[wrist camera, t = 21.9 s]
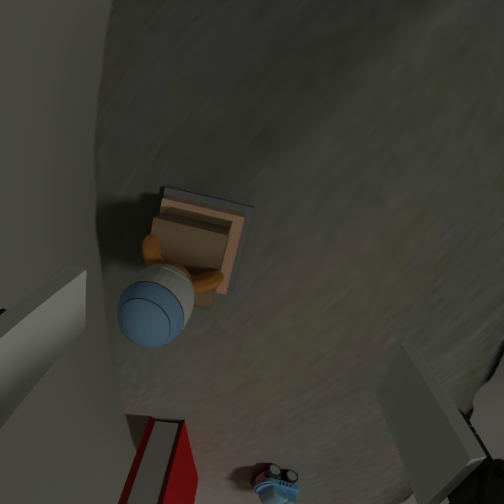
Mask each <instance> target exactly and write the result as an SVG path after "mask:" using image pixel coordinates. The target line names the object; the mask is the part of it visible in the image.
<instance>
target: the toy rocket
mask: <svg viewBox="0 0 504 504" xmlns="http://www.w3.org/2000/svg"><path fill="white" fill-rule="evenodd" d="M142 254H143V258H144V261H145V264H146V267H147V268H145V269H143V270H142V271H140V272H139V273H138V274H137V275H136V276H135V277H133V278H132V279H131V280H130V282H129V283H128V284H127V286H126V287H125V289H124V290H123V292H122V294H121V297H120V300H119V303H118V311H117V315H118V322H119V325H120V328H121V330H122V332H123V334H124V335H125V336H126V337H127V338H128V339H129V340H130V341H131V342H133V343H134V344H136V345H138V346H141V347H144V348H155V347H159V346H162V345H165V344H167V343H169V342H170V341H172V340H173V339H174V338H175V337H177V336H178V334H179V333H180V332H181V331H182V330H183V328H184V326H185V325H186V323H187V321H188V319H189V317H190V315H191V312H192V309H193V306H194V294H197V293H202V292H206V291H209V290H211V289H213V288H215V287H217V286H218V285H220V284H221V283H222V281H223V279H224V274H223V273H222V272H221V271H220V270H216V271H212V272H208V273H203V274H201V275H199V276H195V275H190V274H189V272H188V271H187V270H186V269H185V268H184V267H183V266H182V265H180V264H178V263H175V262H166V261H165V260H164V259H163V258H162V256H161V250H160V247H159V243H158V239H157V236H155V235H151V234H150V235H147V236H146V237H145V238H144V239H143V242H142Z"/></svg>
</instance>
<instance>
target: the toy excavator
mask: <svg viewBox="0 0 504 504" xmlns="http://www.w3.org/2000/svg"><path fill="white" fill-rule="evenodd" d="M297 481H298V475H297V474H296V473H295V472H294V471H292V470H288V471H286V472H285V473H283V474H281V469H280V467H278V466H276V464H270V465H269V466H267V467H266V468H265V469H264V471H263V472H262V473H261V474H259V475H255V476H254V477H253V478H252V479H251V485H252V487H253V490H254V492H255V493H257V494H258V495H259V497H260V500H261V502H262V503H263V504H293V502H295V501H296V494H297V493H298V492H299V486H298V485H296V484H294V483H295V482H297Z"/></svg>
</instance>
